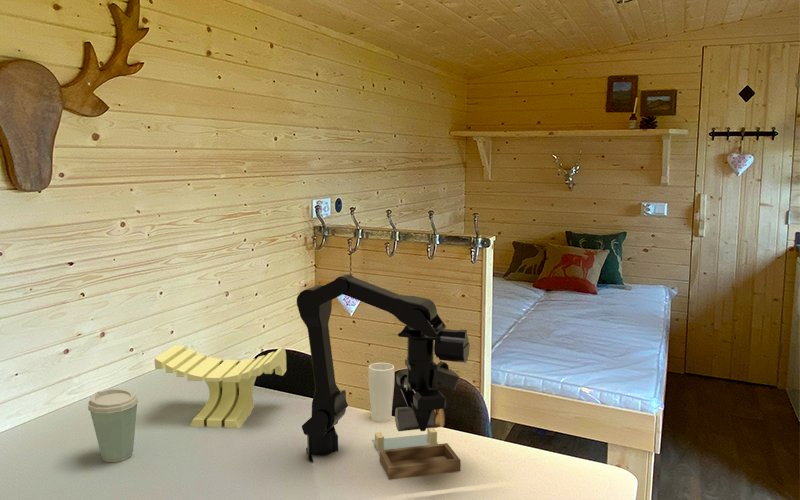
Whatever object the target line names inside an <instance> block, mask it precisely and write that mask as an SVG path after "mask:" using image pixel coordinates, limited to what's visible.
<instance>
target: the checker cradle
mask: <svg viewBox="0 0 800 500" xmlns="http://www.w3.org/2000/svg"><path fill="white" fill-rule="evenodd" d="M426 431H427V432H426V433H427V434H416V435H407V436H397V437H388V438H387V437H386V438H385V437H384V435H383V433H382V431H381V432H374V439H371V442H372V444H373V446H374V448H375V450H376V452H377V454H378V456H379V457H380V450H388V449H397V448H406V447H416V446H425V445H435V444H439V443H438V431H437V429H436V428H427V429H426Z"/></svg>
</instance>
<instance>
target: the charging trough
mask: <svg viewBox="0 0 800 500" xmlns="http://www.w3.org/2000/svg"><path fill="white" fill-rule="evenodd" d="M461 461H462V460H461V459H460V457H459V456H458V455H457V453H456V452H455V451H454V450H453V449H452V447H451V446H450V445H449V443H447V442H446V443H445V442H444V443H438V444H435V445H425V446H416V447H406V448H397V449H388V450H380V456H379V462H380V465H381V466H382V468H383V470H384V472H385V475H386V476H387V478H388V480H390V481H391V480H396V479H397V480H399V479H405V478H412V477H413V478H414V477H415V478H416V477H423V476H430V475H439V474H447V473H455V472H456V473H457V472H461V467H462V466H461Z"/></svg>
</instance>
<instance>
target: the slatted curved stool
mask: <svg viewBox="0 0 800 500" xmlns="http://www.w3.org/2000/svg"><path fill="white" fill-rule="evenodd" d="M163 369H165V373H166V374H174V373H176V377H177V378H184V377H186V379H187V381H188V382H203V381H204V382H205V384H206V386H207V388H208V391H209V394H208V395H209V396H208V400H207V401H206V403H205V405H204V407H202V409H201V410H200V412H198V413H197V415H196V416H194V418H193V419H192V421H191V423H190V425H189V427H194V426H197V428H200V427H201V428H203V426H204V427H205V426H206V428H219V427H221V428H222V427H224V428H225V429H226V428H227V429H240V428H241V426H242V425H243V424H244V423H245V422H246V420H247V419H248V418H249V417H248V415H249V414H250V412H251V411H252V409H253V408H254V409H255V403H254V395H253V394H254V388H255V387H254V386H255V382H256V379H257V378H258V377H260V376H262V374H264V375H272V374H273V373H274V372H275V373H274V374H275V375H278V376H280V377H283V376H284V375H285V373H286V372H287V352H286V348H284V347H281V348H278V349H277V350H276V351H271V352H269V353H267V354H266V355H264V354H263V355H260V356H258V357H257V358H255V357H254V358H246V359H241V361H240V359H225V360H224V359H222V358H217V357H213V356H212V357H211V356H207V355H206V354H204V353H200V352H198V353H197V351H196V350H193V349H190V348H187V347H186V346H185V345H182V344H181V345H180V344H174V345H172V346H171V347H170V348H168V349H167V350H165V351H164V352H162V353H161V354H159V355H157V356H156V357H154V370H163ZM250 415H251V414H250ZM250 415H249V416H250ZM247 417H248V418H247ZM246 418H247V419H246ZM245 419H246V420H245ZM243 422H244V423H243ZM242 423H243V424H242Z"/></svg>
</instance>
